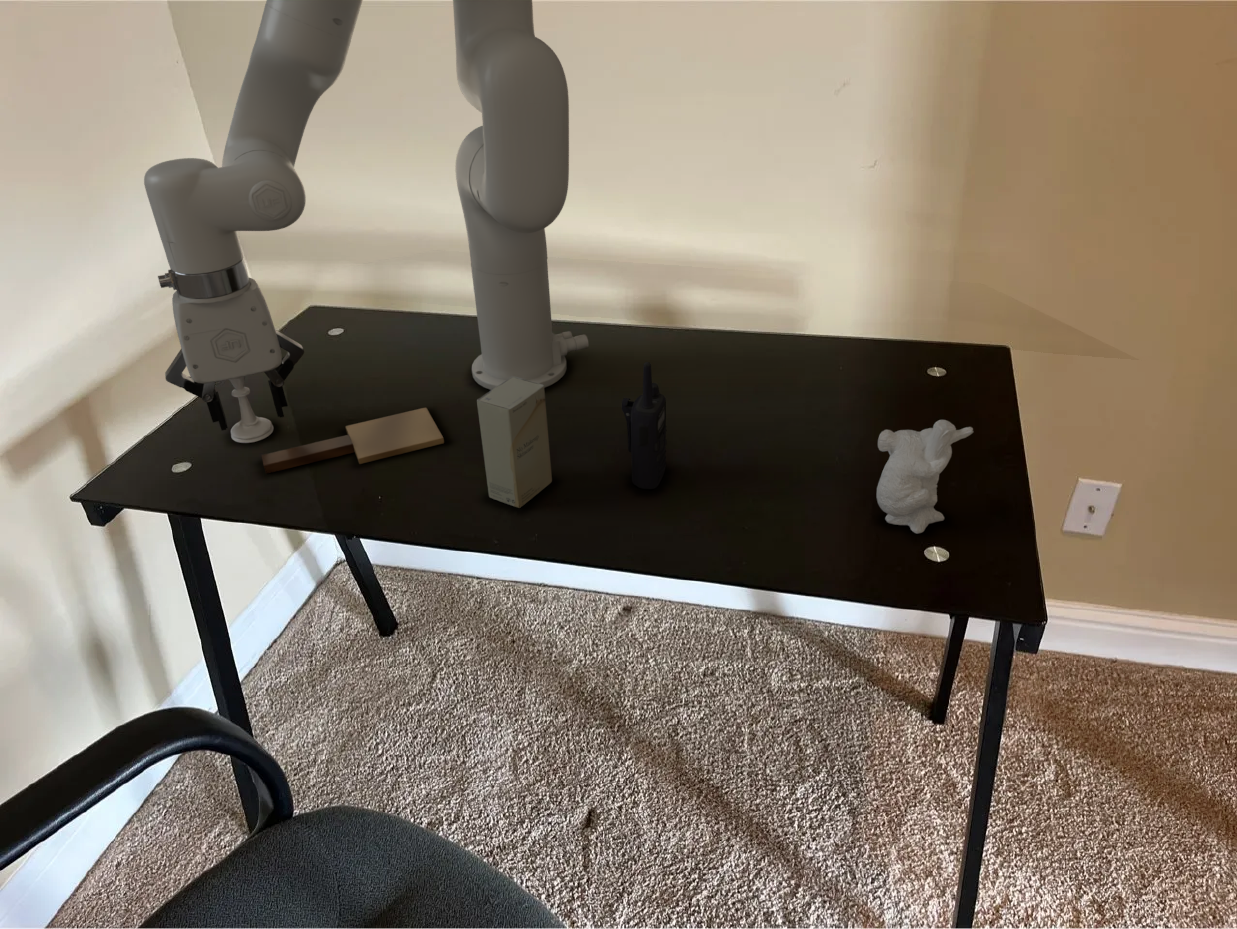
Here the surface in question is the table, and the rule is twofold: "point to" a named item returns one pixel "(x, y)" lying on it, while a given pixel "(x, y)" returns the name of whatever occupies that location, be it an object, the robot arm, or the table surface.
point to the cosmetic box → (515, 441)
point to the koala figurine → (915, 473)
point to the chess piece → (248, 417)
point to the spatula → (365, 441)
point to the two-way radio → (647, 433)
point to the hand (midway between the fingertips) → (251, 417)
